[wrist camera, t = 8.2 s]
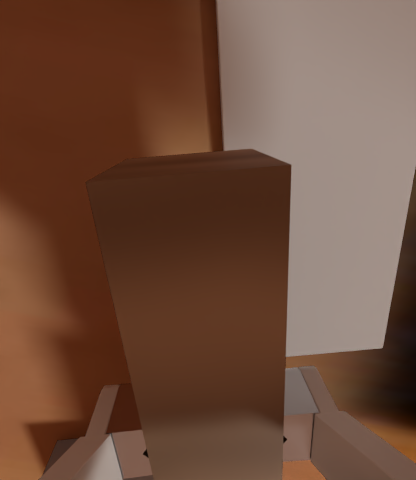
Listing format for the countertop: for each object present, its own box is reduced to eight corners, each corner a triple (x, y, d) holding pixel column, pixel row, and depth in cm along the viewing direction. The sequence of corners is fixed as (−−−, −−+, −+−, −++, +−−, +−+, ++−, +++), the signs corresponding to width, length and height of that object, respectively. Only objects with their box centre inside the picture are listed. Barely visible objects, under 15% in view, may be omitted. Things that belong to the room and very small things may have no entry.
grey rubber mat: (437, -19, 11) (450, -27, 10) (376, 340, 16) (382, 348, 16) (215, -4, 10) (216, -12, 10) (233, 353, 16) (234, 361, 16)
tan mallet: (63, 164, 8) (-20, 191, 5) (313, 143, 8) (391, 156, 5) (165, 570, 16) (159, 681, 13) (290, 555, 16) (315, 661, 13)
